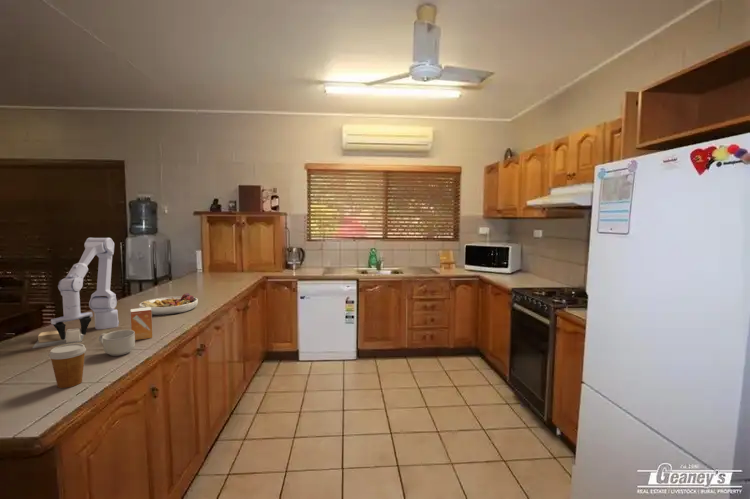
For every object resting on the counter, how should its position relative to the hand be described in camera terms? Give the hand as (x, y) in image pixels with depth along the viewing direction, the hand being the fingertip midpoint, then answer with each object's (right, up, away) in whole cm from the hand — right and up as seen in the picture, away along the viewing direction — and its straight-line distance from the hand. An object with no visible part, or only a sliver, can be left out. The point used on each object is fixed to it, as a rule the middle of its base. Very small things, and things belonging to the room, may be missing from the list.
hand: (73, 336), depth 165 cm
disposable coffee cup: (+31, -6, -40) cm, 51 cm away
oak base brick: (-10, -1, +1) cm, 10 cm away
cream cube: (0, -2, 0) cm, 2 cm away
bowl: (+10, +2, +59) cm, 60 cm away
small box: (+25, -2, +7) cm, 26 cm away
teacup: (+27, -4, -12) cm, 30 cm away
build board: (-6, -2, +1) cm, 7 cm away
